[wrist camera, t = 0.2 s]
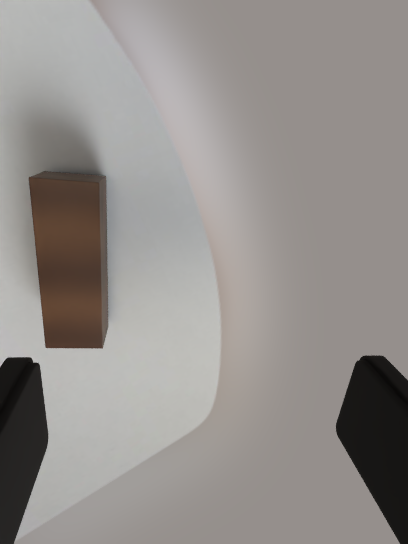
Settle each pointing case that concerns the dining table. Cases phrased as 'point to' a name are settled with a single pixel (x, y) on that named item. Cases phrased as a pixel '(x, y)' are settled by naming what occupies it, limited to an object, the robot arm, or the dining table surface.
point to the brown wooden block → (71, 257)
